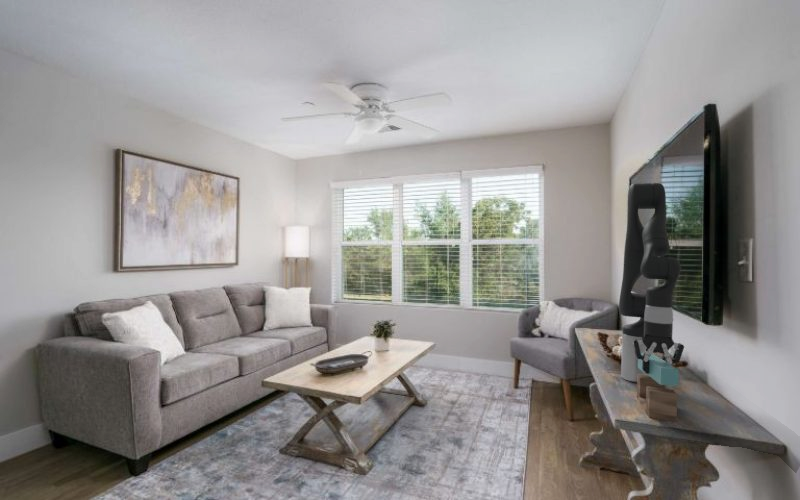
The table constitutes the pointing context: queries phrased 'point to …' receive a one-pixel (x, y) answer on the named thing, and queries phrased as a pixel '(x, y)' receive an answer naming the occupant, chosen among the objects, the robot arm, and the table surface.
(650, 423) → the table surface
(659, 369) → the glasses case
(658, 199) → the robot arm
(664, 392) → the wooden block pair
